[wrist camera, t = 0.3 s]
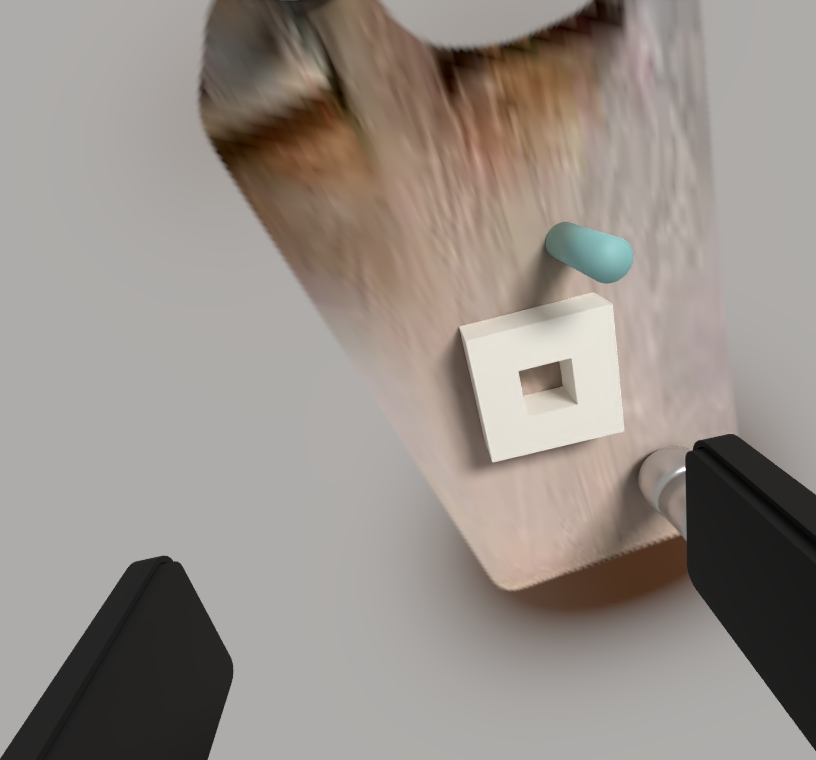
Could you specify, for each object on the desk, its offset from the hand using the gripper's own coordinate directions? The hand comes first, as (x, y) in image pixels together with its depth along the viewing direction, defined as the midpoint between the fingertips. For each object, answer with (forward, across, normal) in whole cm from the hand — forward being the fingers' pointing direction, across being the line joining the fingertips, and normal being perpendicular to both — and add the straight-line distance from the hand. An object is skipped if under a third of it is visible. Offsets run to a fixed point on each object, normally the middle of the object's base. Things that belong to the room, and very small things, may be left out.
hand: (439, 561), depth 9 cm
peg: (+35, -14, +2) cm, 38 cm away
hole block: (+35, -10, +13) cm, 39 cm away
